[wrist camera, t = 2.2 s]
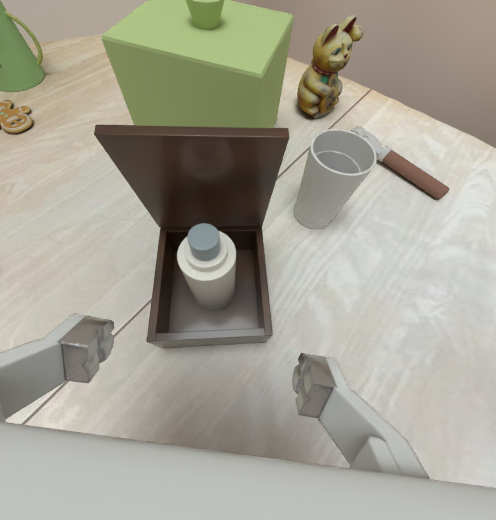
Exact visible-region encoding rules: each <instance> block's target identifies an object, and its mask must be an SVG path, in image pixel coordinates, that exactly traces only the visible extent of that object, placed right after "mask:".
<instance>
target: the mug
mask: <svg viewBox="0 0 496 520" xmlns="http://www.w3.org/2000/svg"><path fill="white" fill-rule="evenodd" d="M12 19H13V20H14V21H16V22H17V23H18V24H20V25H21V26H22V27H23V28H24V29H25V30H26V31H27V32H28V33H29V35H30V36H31V37H32V39H33V40H34V42H35V44H36V46H37V49H38V60H37V59H36V58H35V56H34V54H33V53H32V51H31V50H30V48H29V46H28V45H27V43H26V41H25V40H24V39H23V37H22V35H21V33H20V32H19V30H18V28H17V27H16V25H15V24H14V22H13V20H12ZM42 58H43V56H42V50H41V47H40V45H39V43H38V41H37V39H36V37H35V36H34V35H33V33H32V32H31V31H30V30H29V28H28V27H27V26H26V25H25V24H24V23H22V22H21V21H20V20H19V19H17V18H16V17H15V16H13V15H12V14H10V13H8V12H7V11H6V9H5V7H4V6H3V4H2V2H1V1H0V90H1V91H9V92H13V91H22V90H26V89H29V88H32V87H34V86H36V85H38V84H39V83H40V82H41V81H42V80H43V79H44V77H45V72H44V71H43V69H42V67H41V66H40V64H41V62H42Z"/></svg>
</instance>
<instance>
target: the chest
mask: <svg viewBox="0 0 496 520" xmlns="http://www.w3.org/2000/svg"><path fill="white" fill-rule="evenodd" d="M214 227H215V228H216V229H217V230H218V231H220V232H222V233H224V234H226V235H227V236H228V237H229V238H230V239H231V240H232V242H233V243H234V246H235V249H236V271H235V294H234V297H233V299H232V301H231V302H230V303H229V304H228V305H227V306H226V307H224V308H222V309H220V310H207V309H205V308H203V307H201V306H200V305H199V304H198V303H197V302H196V300H195V298H194V296H193V293H192V291H191V289H190V287H189V285H188V283H187V281H186V279H185V277H184V275H183V272H182V270H181V268H180V266H179V264H178V260H177V253H178V249H179V246H180V244H181V243H182V241H183V240H184V239H185V238H186V237H187V236H188V233H189V231H190V229H191V228H192V227H161V228H160V237H159V245H158V253H157V261H156V269H155V278H154V286H153V294H152V302H151V311H150V319H149V327H148V335H147V342H149V343H151V344H154V345H156V346H159V347H161V348H173V347H191V346H209V345H227V344H246V343H264V342H266V341H267V340H268V339H269V338H270V337H271V336H272V335H273V334H272V324H271V314H270V304H269V294H268V285H267V275H266V265H265V255H264V245H263V235H262V226H214Z"/></svg>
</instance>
